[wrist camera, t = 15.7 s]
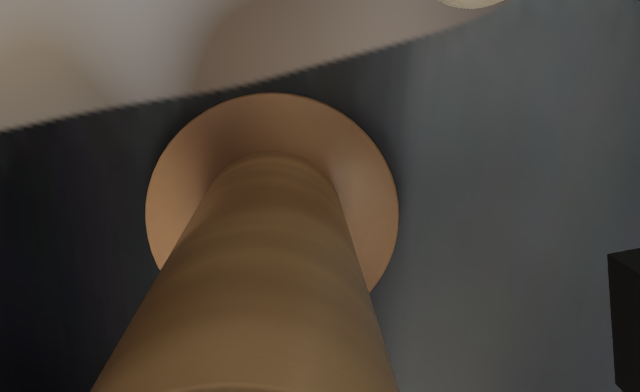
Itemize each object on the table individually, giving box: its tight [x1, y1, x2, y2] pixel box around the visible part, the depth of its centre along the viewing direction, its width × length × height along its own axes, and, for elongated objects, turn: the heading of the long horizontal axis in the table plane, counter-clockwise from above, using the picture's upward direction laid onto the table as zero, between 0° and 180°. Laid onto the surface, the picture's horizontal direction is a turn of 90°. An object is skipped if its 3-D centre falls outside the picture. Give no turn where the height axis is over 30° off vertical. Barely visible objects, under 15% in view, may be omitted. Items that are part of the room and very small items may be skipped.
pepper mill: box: [90, 151, 399, 392], centre depth 12 cm, size 5×5×16 cm
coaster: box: [145, 92, 399, 293], centre depth 21 cm, size 9×9×1 cm
